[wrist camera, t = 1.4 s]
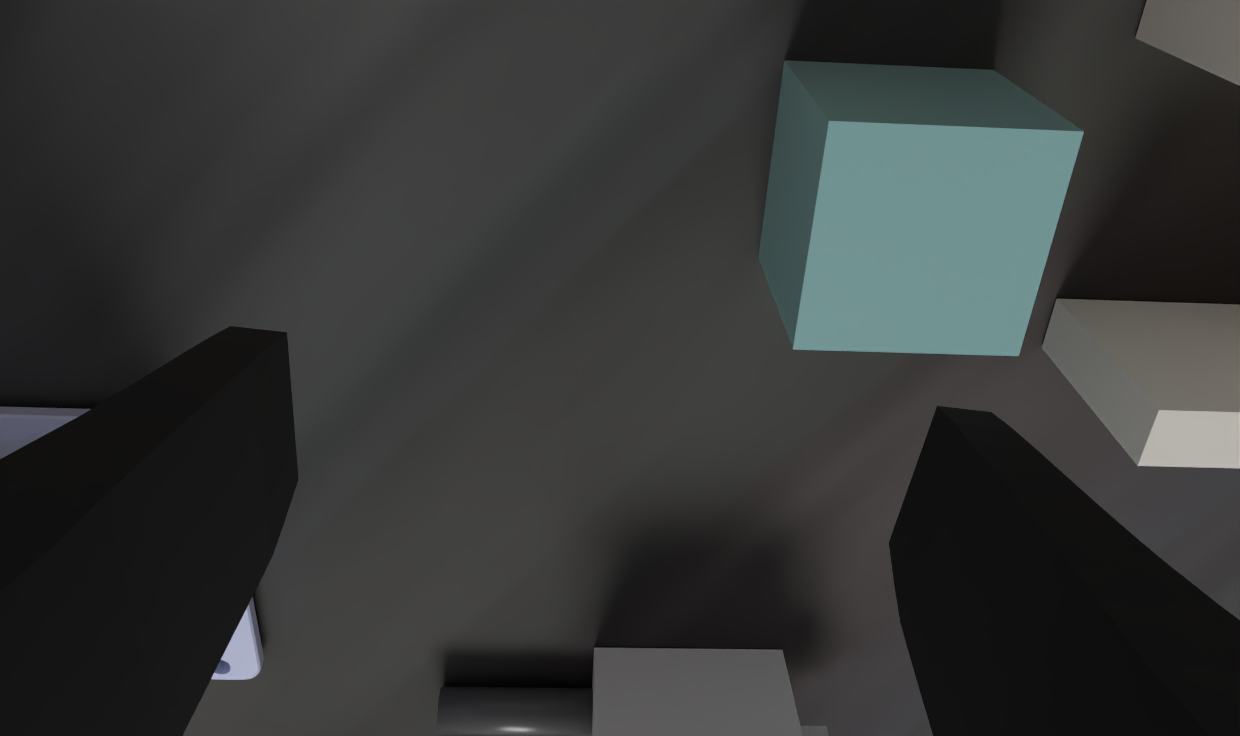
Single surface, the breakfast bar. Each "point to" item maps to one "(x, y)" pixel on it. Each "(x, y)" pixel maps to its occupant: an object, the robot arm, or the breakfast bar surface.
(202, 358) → the robot arm
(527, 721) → the plug
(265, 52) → the breakfast bar surface
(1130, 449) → the white angular block
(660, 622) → the breakfast bar surface
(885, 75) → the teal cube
